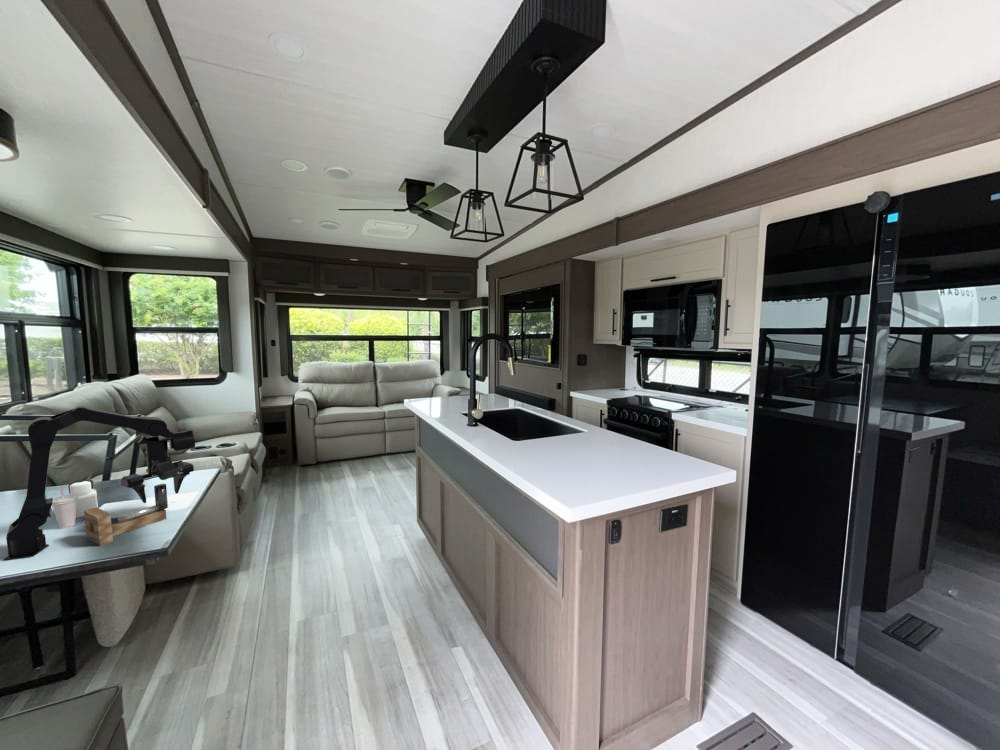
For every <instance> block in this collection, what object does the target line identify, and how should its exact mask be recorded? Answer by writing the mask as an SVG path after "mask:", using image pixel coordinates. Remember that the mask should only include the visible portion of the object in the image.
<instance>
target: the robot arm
mask: <svg viewBox="0 0 1000 750" xmlns="http://www.w3.org/2000/svg"><path fill="white" fill-rule="evenodd" d="M82 421H84V422H91V423H97V424H102V425H106V426H108V425H109V426H112V427H113V426H114V427H121V428H125V429H129V430H134V431H136V432H139V433H141V434H144V435H143V436H142V437H141V438H139V440H137V443H138V445H145V451H146V457H144V459H145V462H146V467H147V468H146V469H145V471H146V472H145V473H146V474H138V473H134V474H133V473H132V474H130V475H129V474H128V475H125V476H122V478H121V479H120V485H121V486H123V487H124V488H128V489H130V488H131V489H133V490H134V492H136V494H137V496H138V497H139V498H140V500H141V501H142V503H143V504H146V503H147V497H146V496H147V495H146V491H145V487H146V484H144V482H145V481H147V480H152V479H155V478H159V480H161V481H166V480H168V479H171V478H173V489H174V493H175V494H177V495H178V494H179V491H180V489H181V486H182V484H183V481H184V479H185V478H186V477H187V476H189V475H190V474H191V473H193V472H194V471H195V468H194V465H193V463H191V462H187V461H183V460H178V461H172V458H171V456H170V455H169V449H170V450H174V452H180V451H186V450H192V449H195V448H196V440H195V436H194V433H193V432H194V431H193V430H192V429H187V430H184V431H175V432H173V430H171V429H169V428H168V425H167V423H166V422H165V420H163V419H162V418H161V417H158V416H157V417H156V416H135V415H134V416H132V415H127V414H122V413H116V412H112V411H111V412H110V411H106V410H100V409H97V408H91V407H87V406H83V405H80V406H76V407H74V408H71V409H69V410H65V411H64V412H61V413H57V414H54V415H52V416H40V417H37V418H36V419H33V420H32V421H31V423H30V424H29V426H28V428H27V433H28V440H29V444H30V448H31V449H30V451H31V454H30V463H29V470H28V471H29V473H28V481H27V489H26V496H25V499H24V502H23V503H22V507H21V510H20V511H19V515H18V518H17V519H15V520H14V521H12V523H11V524H9V527H8V531H7V532H6V538H5V541H6V545H7V546H6V547H7V553H8V555H7V556H5V557H3V560H4V561H8V560H15V559H22V558H23V559H24V558H32V557H34V556H36V555H37V554H39V553H40V552H42V551H43V550H45V549H47V548H48V547H49V546H50V544H47V540H46V534H45V533H44V530H43V528H41V527H43V525H45V524H46V522H47V521H48V518H51V517H52V512H53V508H52V502H53V499H54V498H53V497H49V498H47V495H46V489H47V480H48V472H49V471H48V470H49V464H50V463H49V462H50V455H51V448H52V446H53V443H54V441H55V438H56V435H57V433H58V432H59V431H60V430H63V429H65V428H68V427H69V426H72V425H74V424H76V423H79V422H82ZM145 435H147V436H149V437H147V436H145ZM160 436H161V437H160ZM168 442H169V443H168ZM168 444H169V447H168Z"/></svg>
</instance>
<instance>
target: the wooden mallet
mask: <svg viewBox="0 0 1000 750" xmlns="http://www.w3.org/2000/svg"><path fill="white" fill-rule="evenodd" d="M111 518H112V516H111V513H110V512H107V511H106V510H103V509H101V508H99V507H98V508H97V507H96V508H92V509H89V510H85V511H84V526H85V527H84V528H85V535H86V539H87V540H89V541H91V542H93V543H94V544H96V545H98V546H100V547H102V546H104V545H107V544H110V543H113V542H114V537H117V536H119V534H120V535H122V533H123V534H125V533H124V532H126V533H128V532H127V531H129V532H131V531H130V530H132V531H134V530H133V529H135V530H138V529H140V527H141V528H143V526H144V527H146V525H147V526H148V525H152V524H155V523H158V522H161V521H164V520H167V510H166V509H163V510H158V511H155V512H152V513H149V514H145V515H142V516H139V517H136V518H133V519H130V520H127V521H123V522H120V523H119V522H118V521H117V522H116V523H112V519H111ZM137 528H138V529H137ZM116 535H117V536H116ZM113 536H114V537H113Z"/></svg>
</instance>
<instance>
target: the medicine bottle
mask: <svg viewBox="0 0 1000 750" xmlns="http://www.w3.org/2000/svg"><path fill="white" fill-rule="evenodd" d="M68 495H78V499H77V506H76V519H79V518H83V517H84V511H85V510H89V509H92V508H96V507H97V508H99V505H98V495H97V489H94V480H92V479H81V480H75V481H73V482H71V483H70V484H68Z"/></svg>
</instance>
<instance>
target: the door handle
mask: <svg viewBox="0 0 1000 750" xmlns="http://www.w3.org/2000/svg"><path fill="white" fill-rule="evenodd" d="M153 491H154V502H155V505H152V506H148V507H146V508H142V509H139V510H135V511H132V512H129V513H126V514H122V515H120V516H117V523H118V522H119V523H120V522H123V521H127V520H130V519H133V518H136V517H139V516H142V515H145V514H149V513H152V512H155V511H158V510H163V509H165V510H166V509H168V507H169V504H168V502H169V501H168V491H167V484H166V483H159V484H157V485H154V486H153Z"/></svg>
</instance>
